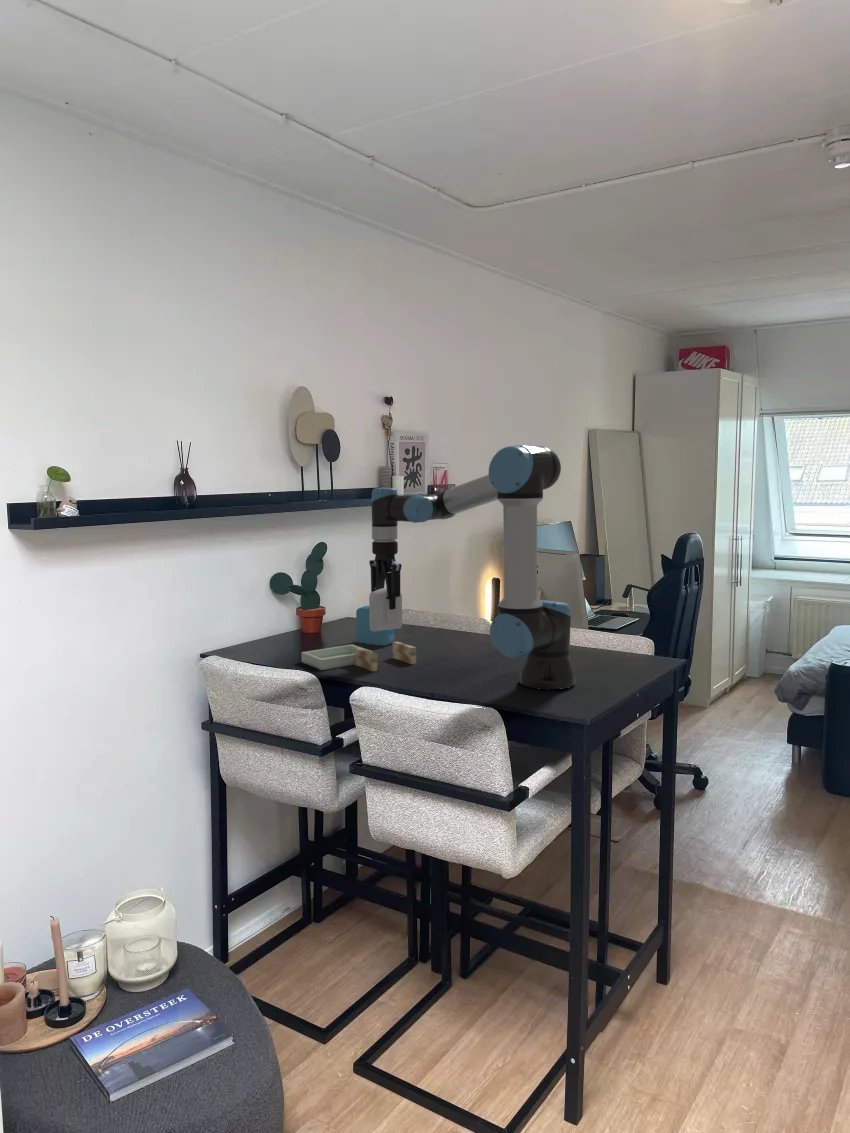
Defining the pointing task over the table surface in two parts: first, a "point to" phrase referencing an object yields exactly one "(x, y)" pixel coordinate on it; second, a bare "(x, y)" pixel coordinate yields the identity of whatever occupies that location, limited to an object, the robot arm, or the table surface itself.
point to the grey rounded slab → (383, 611)
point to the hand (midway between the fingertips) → (385, 618)
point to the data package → (366, 634)
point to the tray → (330, 657)
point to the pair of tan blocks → (370, 658)
